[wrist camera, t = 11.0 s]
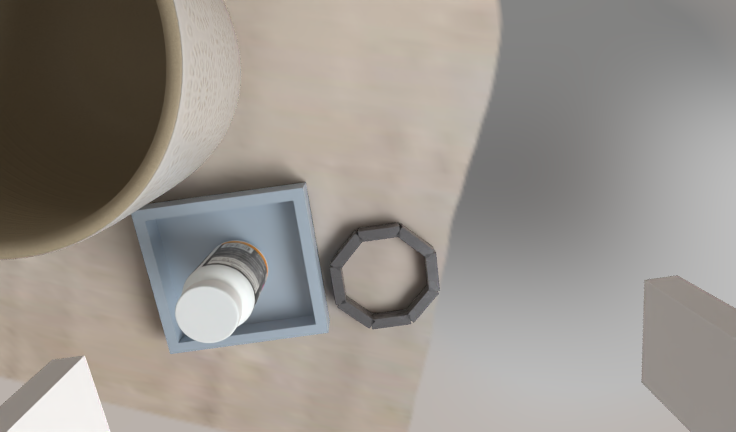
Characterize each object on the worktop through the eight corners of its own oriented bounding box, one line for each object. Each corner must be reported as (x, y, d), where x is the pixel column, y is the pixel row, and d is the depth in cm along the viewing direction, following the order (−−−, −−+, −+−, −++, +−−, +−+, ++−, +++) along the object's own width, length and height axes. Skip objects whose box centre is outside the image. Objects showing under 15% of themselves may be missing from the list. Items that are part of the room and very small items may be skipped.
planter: (278, 175, 42) (218, 242, 23) (48, 195, 41) (-195, 279, 23) (242, -85, 36) (127, -267, 18) (-23, -63, 36) (-416, -223, 18)
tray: (143, 204, 42) (130, 211, 39) (305, 182, 42) (302, 187, 39) (180, 340, 45) (170, 353, 43) (329, 319, 45) (328, 332, 43)
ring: (325, 232, 43) (324, 236, 42) (430, 218, 43) (432, 221, 42) (341, 327, 46) (340, 333, 44) (440, 313, 46) (442, 319, 44)
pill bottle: (238, 305, 44) (205, 364, 35) (195, 262, 43) (150, 311, 33) (282, 270, 43) (261, 320, 34) (240, 225, 42) (206, 264, 32)
